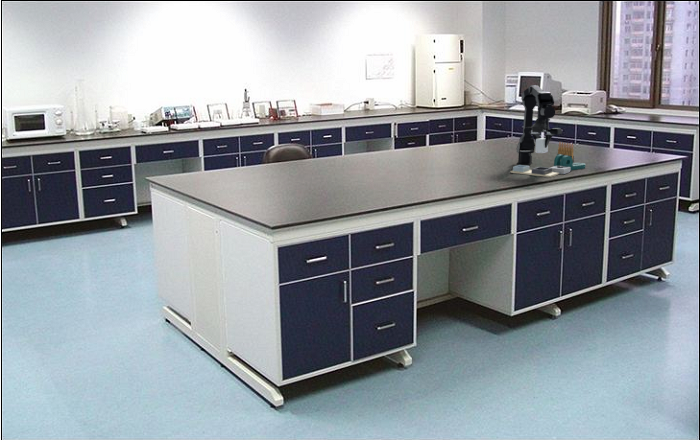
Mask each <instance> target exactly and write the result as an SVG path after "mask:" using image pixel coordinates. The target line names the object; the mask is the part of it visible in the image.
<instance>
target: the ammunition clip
mask: <svg viewBox="0 0 700 440" xmlns="http://www.w3.org/2000/svg"><path fill="white" fill-rule="evenodd" d="M559 154H561V155H565V156H571V157H572V159H573V163H575V161H574V159H575V158H574V157H575V156H574V143H570V142H569V143H568V142H563V141H562V142H561V141H559V142H558V149H557V154H556V156H557V155H559ZM560 161H561V160H560Z"/></svg>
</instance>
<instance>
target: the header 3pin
mask: <svg viewBox="0 0 700 440" xmlns="http://www.w3.org/2000/svg"><path fill="white" fill-rule="evenodd" d="M528 170H531V167H530V165H526V164H517V165H514V166H513V167H512V171H519V172H525V171H528Z"/></svg>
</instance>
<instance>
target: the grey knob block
mask: <svg viewBox="0 0 700 440" xmlns="http://www.w3.org/2000/svg"><path fill="white" fill-rule="evenodd" d="M550 168H552V172H556V173H559V174H560V175H565V174H568V173H571V171H572V170H571V167H564V166H554V165H553V166H551V167H550ZM559 174H558V175H559Z"/></svg>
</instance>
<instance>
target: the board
mask: <svg viewBox="0 0 700 440" xmlns="http://www.w3.org/2000/svg"><path fill="white" fill-rule="evenodd" d="M510 173H511V174H512V173H513V174H518V175H519V174H521V175H529V176H536V177H545V178H552V177H555V176H557V175H558V176H559V173H556V172H551V173H548V174H545V175H542V174H533V173H532V169H530V170H528V171H525V172H519V171H513V170H510Z"/></svg>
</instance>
